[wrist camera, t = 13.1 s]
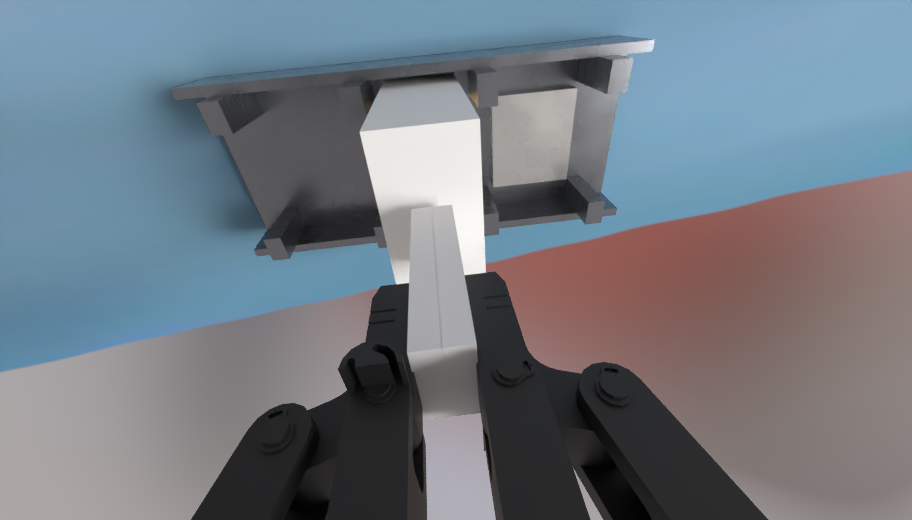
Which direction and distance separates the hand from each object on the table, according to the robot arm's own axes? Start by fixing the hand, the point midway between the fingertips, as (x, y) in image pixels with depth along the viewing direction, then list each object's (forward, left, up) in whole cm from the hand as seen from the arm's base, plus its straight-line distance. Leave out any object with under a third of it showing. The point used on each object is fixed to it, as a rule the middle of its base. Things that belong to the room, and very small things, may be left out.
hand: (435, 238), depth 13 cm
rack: (0, 0, -12) cm, 12 cm away
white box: (0, 0, -11) cm, 11 cm away
